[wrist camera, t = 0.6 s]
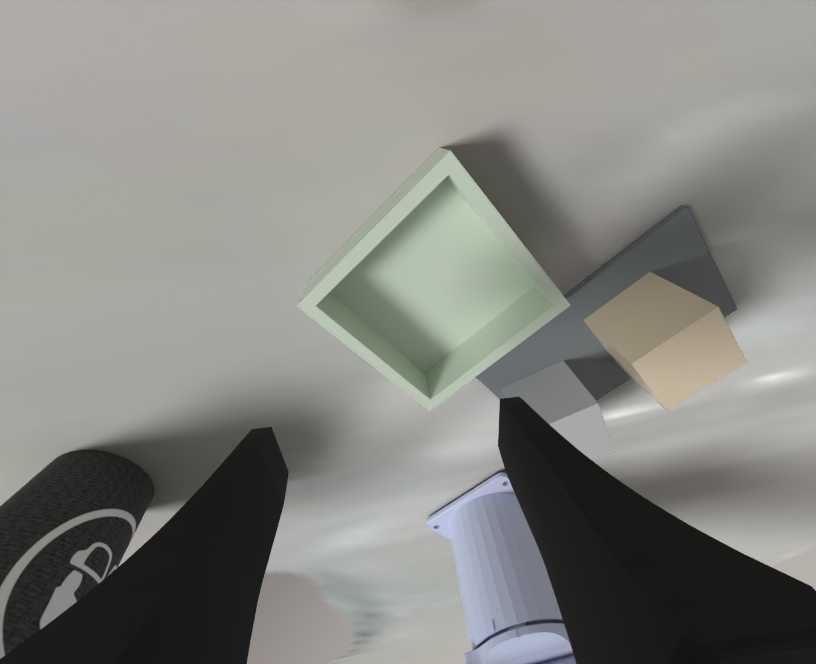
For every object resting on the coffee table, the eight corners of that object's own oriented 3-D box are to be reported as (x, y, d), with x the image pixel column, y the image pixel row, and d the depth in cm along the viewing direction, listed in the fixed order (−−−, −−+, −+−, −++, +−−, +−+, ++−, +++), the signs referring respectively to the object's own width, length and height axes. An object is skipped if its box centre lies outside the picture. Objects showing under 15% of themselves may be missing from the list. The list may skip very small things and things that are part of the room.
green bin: (546, 283, 20) (570, 305, 17) (423, 380, 22) (429, 411, 20) (438, 147, 16) (450, 150, 14) (307, 282, 19) (296, 305, 16)
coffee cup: (74, 408, 22) (-391, 833, 8) (206, 487, 26) (30, 853, 13) (-10, 479, 24) (-480, 902, 11) (124, 541, 28) (-98, 900, 15)
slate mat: (731, 305, 22) (737, 308, 21) (538, 432, 26) (540, 436, 25) (681, 205, 18) (687, 207, 18) (469, 368, 22) (470, 372, 22)
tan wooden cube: (678, 319, 21) (747, 362, 17) (615, 362, 22) (666, 410, 19) (649, 271, 20) (718, 306, 16) (583, 320, 21) (631, 364, 17)
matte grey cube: (580, 405, 24) (614, 451, 21) (521, 430, 25) (545, 479, 21) (563, 360, 22) (598, 403, 19) (500, 388, 23) (522, 435, 19)
